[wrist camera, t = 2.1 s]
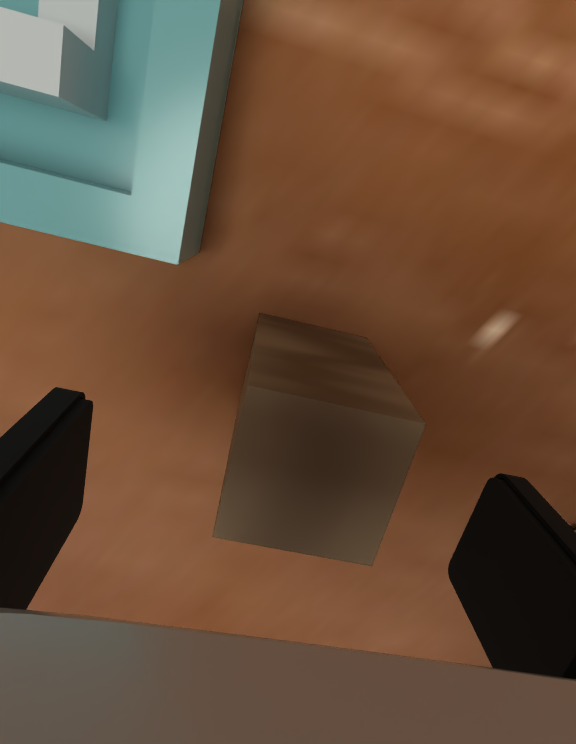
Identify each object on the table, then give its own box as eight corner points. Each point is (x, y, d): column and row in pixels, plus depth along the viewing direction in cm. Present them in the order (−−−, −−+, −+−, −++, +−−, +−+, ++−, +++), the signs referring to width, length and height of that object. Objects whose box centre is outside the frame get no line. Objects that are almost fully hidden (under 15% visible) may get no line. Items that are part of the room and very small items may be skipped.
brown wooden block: (366, 337, 19) (426, 424, 11) (336, 433, 20) (371, 566, 13) (259, 312, 18) (247, 385, 11) (236, 412, 20) (212, 536, 12)
